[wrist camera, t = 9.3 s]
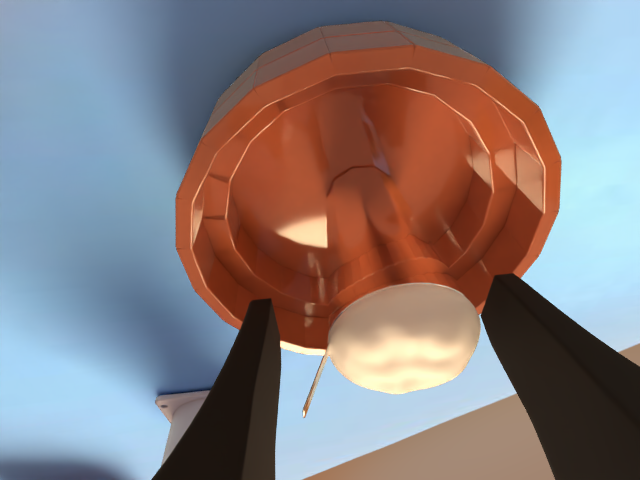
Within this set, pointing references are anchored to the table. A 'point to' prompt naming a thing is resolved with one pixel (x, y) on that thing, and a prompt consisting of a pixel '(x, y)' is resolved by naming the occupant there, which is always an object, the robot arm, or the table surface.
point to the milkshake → (390, 293)
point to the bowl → (360, 152)
